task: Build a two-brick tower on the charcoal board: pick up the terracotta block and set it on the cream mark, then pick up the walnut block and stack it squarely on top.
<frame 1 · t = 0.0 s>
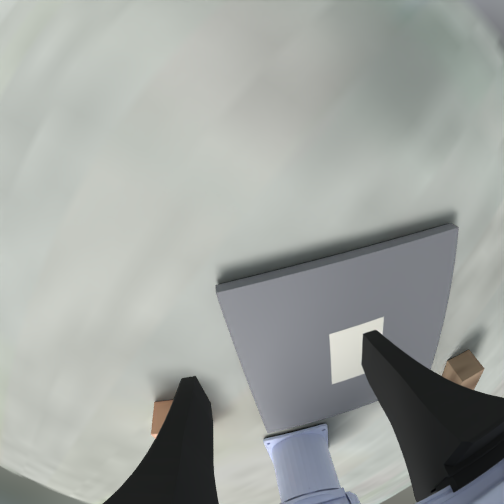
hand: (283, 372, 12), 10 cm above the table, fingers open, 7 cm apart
brick terracotta: (183, 415, 28), on the table
brick walnut: (453, 369, 32), on the table
tower board: (352, 346, 26), on the table
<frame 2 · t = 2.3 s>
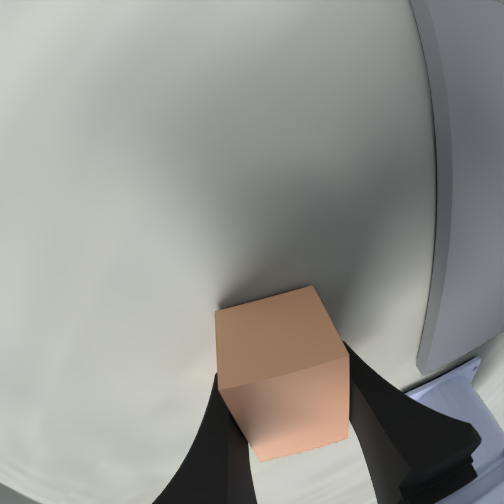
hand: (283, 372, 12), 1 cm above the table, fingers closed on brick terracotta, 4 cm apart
brick terracotta: (277, 349, 13), on the table, touching gripper
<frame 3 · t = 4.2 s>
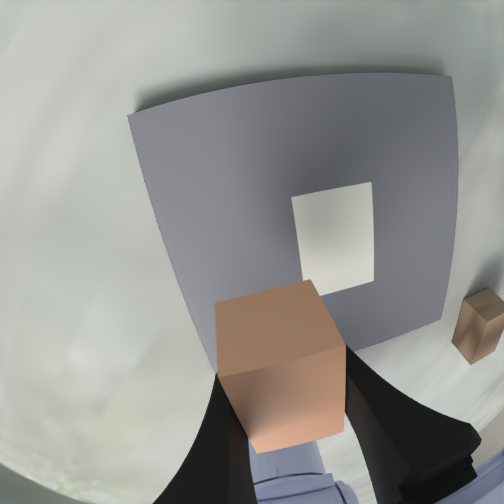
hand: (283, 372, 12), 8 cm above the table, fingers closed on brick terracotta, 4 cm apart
brick terracotta: (275, 342, 14), point 7 cm above the table, touching gripper
brick walnut: (470, 315, 25), on the table
tower board: (332, 237, 19), on the table
when the fingers open (3 cm above the table, at t = 6.0 s): brick terracotta stays where it is, resting on tower board.
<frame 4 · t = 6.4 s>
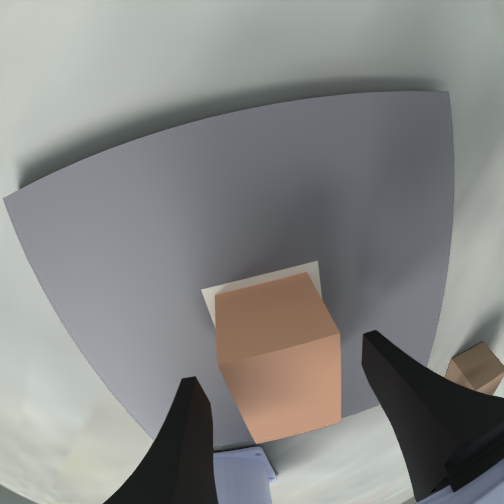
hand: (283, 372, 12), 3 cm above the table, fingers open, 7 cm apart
brick terracotta: (273, 334, 14), point 1 cm above the table, touching tower board
brick walnut: (459, 371, 21), on the table
tower board: (270, 323, 15), on the table
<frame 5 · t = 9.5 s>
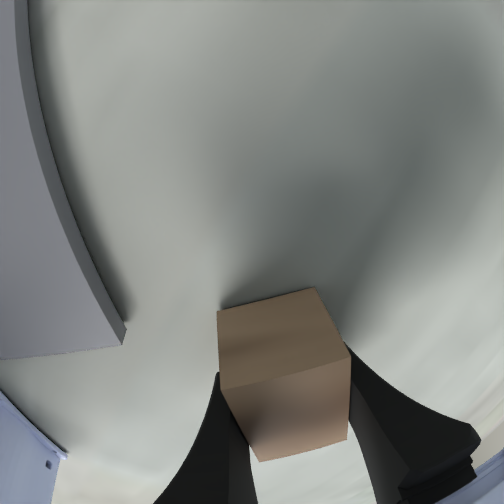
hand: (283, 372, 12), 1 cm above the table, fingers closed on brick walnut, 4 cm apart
brick walnut: (277, 350, 13), on the table, touching gripper
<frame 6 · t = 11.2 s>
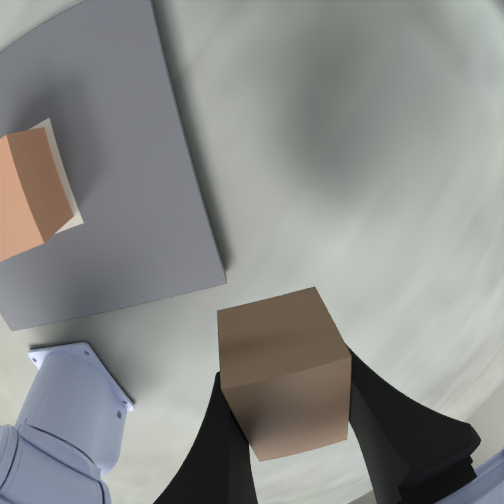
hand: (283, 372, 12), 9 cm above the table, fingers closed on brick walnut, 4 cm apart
brick terracotta: (34, 183, 15), point 1 cm above the table, touching tower board
brick walnut: (278, 350, 13), point 8 cm above the table, touching gripper
tower board: (42, 180, 16), on the table
when the fingers open (7 cm above the table, at t = 12.9 s): brick walnut stays where it is, resting on brick terracotta.
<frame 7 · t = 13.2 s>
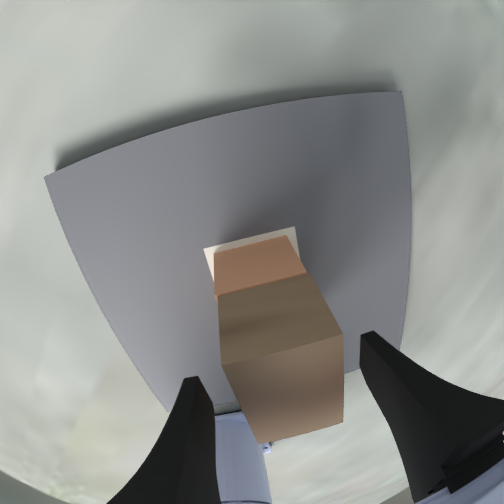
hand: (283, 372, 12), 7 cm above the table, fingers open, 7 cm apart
brick terracotta: (261, 289, 18), point 1 cm above the table, touching brick walnut, tower board
brick walnut: (275, 335, 14), point 5 cm above the table, touching brick terracotta
tower board: (259, 282, 19), on the table
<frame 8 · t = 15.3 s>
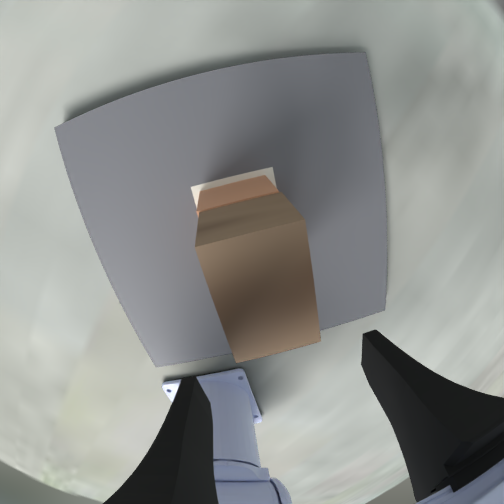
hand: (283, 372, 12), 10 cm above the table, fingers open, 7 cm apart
brick terracotta: (243, 228, 19), point 1 cm above the table, touching brick walnut, tower board
brick walnut: (253, 257, 15), point 5 cm above the table, touching brick terracotta
tower board: (242, 224, 20), on the table
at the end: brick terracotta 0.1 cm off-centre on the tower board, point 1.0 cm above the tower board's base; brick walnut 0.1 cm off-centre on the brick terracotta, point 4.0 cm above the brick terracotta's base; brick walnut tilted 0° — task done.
